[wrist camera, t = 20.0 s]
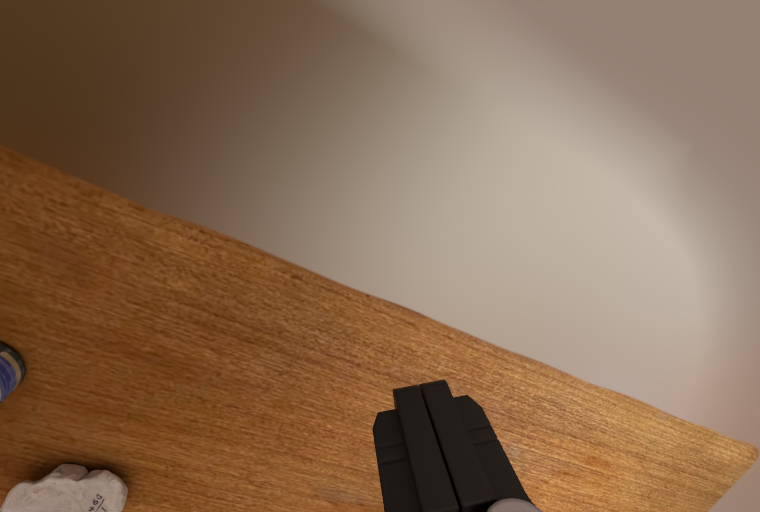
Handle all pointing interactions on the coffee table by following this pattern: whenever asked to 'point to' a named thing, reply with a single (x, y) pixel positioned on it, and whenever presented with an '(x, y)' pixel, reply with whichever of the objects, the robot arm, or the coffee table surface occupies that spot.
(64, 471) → the fossil
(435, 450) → the robot arm
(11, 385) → the pill bottle
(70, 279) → the coffee table surface
